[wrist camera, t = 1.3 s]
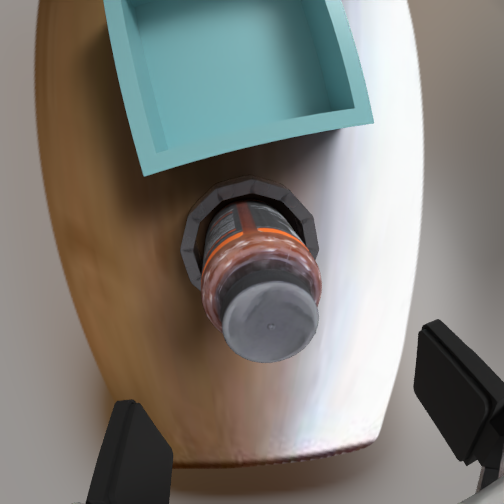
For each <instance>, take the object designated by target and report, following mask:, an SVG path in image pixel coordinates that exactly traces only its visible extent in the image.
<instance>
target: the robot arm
mask: <svg viewBox="0 0 504 504" xmlns="http://www.w3.org/2000/svg"><path fill="white" fill-rule="evenodd" d="M414 392H415V394H416V396H417V397H418V399H419V400H420V402H421V403H422V405H423V406H424V408H425V410H427V412H428V414H429V416H430V417H431V419H432V420H433V421H434V423H435V425H436V426H437V428H438V429H439V431H440V433H441V434H442V436H443V437H444V438H445V440H446V442H447V444H448V445H449V447H450V448H451V450H452V451H453V453H454V455H455V456H456V458H457V459H458V460H459V461H464V463H465V464H466V466H468V465H469V464H471V463H473V462H474V461H476V460H478V461H479V463H480V464H481V466H482V468H481V472H480V477H479V481H478V485H477V489H476V493H475V494H474V495H472V496H471V497H469V498H467V499H466V500H464V501H462V502H461V503H459V504H504V382H503V381H502V380H501V379H500V378H499V377H498V376H497V375H496V374H495V373H494V372H493V371H492V370H491V368H490V367H488V366H487V364H486V363H485V362H484V361H483V360H482V359H481V358H480V357H479V356H478V355H477V354H476V353H475V352H474V351H473V350H472V349H470V348H469V347H468V346H467V345H466V344H465V343H464V342H462V340H461V339H459V337H458V336H456V335H455V334H454V333H453V332H452V331H451V330H450V329H449V328H448V327H447V326H446V325H445V324H444V323H443V322H442V321H441V320H439V319H437V320H434V321H432V322H430V323H427V324H425V325H423V327H422V330H421V331H420V332H419V334H418V347H417V358H416V368H415V378H414ZM172 464H173V452H172V449H171V447H170V446H169V444H168V443H167V442H166V440H165V439H164V438H163V436H162V435H161V433H160V432H159V431H158V429H157V428H156V426H155V425H154V423H153V422H152V420H151V419H150V418H149V416H148V415H147V413H146V412H145V410H144V409H143V407H142V405H141V404H140V403H136V402H135V401H134V400H122V401H117V402H116V403H115V405H114V408H113V412H112V414H111V418H110V421H109V424H108V427H107V430H106V433H105V437H104V440H103V443H102V446H101V449H100V453H99V456H98V459H97V463H96V467H95V470H94V474H93V477H92V481H91V485H90V489H89V492H88V496H87V500H86V504H169V497H170V485H171V473H172ZM72 504H83V503H72Z"/></svg>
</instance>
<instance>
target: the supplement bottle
mask: <svg viewBox="0 0 504 504" xmlns="http://www.w3.org/2000/svg"><path fill="white" fill-rule="evenodd" d="M321 291H322V282H321V275H320V271H319V268H318V266H317V263H316V261H315V259H314V258H313V256H312V255H311V253H310V252H309V250H308V249H307V247H306V246H305V245H304V243H303V242H302V241H301V239H300V238H299V237H298V235H297V234H296V233H295V231H294V230H293V229H292V227H291V226H290V225H289V223H288V222H287V221H286V219H285V218H284V217H283V216H282V214H281V213H280V212H279V211H278V210H276V209H275V208H274V207H272V206H271V205H269V204H267V203H265V202H263V201H259V200H253V199H245V200H239V201H235V202H232V203H230V204H228V205H226V206H225V207H223V208H222V209H221V210H220V211H219V212H218V213H217V214H216V215H215V216H214V218H213V219H212V221H211V222H210V224H209V227H208V230H207V233H206V239H205V249H204V257H203V266H202V273H201V298H202V303H203V307H204V310H205V312H206V314H207V316H208V318H209V319H210V321H211V322H212V324H213V325H214V326H215V327H216V328H217V329H218V330H219V331H220V332H221V333H223V336H224V338H225V341H226V343H227V344H228V346H229V347H230V348H231V349H232V350H233V351H234V352H235V353H236V354H238V355H239V356H241V357H243V358H245V359H247V360H250V361H254V362H260V363H272V362H278V361H282V360H285V359H287V358H290V357H292V356H294V355H296V354H297V353H299V352H300V351H301V350H303V349H304V348H305V347H306V346H307V345H308V344H309V342H310V341H311V339H312V338H313V336H314V335H315V333H316V329H317V326H318V321H319V315H318V309H317V307H318V304H319V301H320V298H321Z"/></svg>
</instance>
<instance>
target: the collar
mask: <svg viewBox="0 0 504 504" xmlns="http://www.w3.org/2000/svg"><path fill="white" fill-rule="evenodd" d="M249 193H255V194H259V195H262V196H266V197H269V198H273V199H276V200H280V201H282V202H283V203H284V204H285V205H286V206H287V207H288V208H289V209H290V210H291V211H292V212H293V213H294V217H295V222H296V227H297V232H298V237H299V238H300V239H301V241H302V242H303V243H304V245H305V246H306V247H307V249H308V250H309V252H310V253H311V255H312V256H313V258H314V259H316V257H317V254H318V251H319V246H318V241H317V235H316V229H315V224H314V218H313V216H312V215H311V213H310V212H309V211H308V210H307V209H306V208H305V207H304V206H303V205H302V203H301V202H300V201H299V200H298V199H297V198H296V197H295V196H294V195H293V194H292V192H291V191H290V190H289V189H287V188H286V187H285V186H284V185H282V184H280V183H277V182H273V181H270V180H266V179H263V178H259V177H256V176H252V175H250V176H249V175H246V176H242V177H238V178H234V179H230V180H227V181H223V182H219V183H216V184H215V185H214V186H213V187H212V188H211V189H210V190H209V191H208V192H207V193H206V194H205V195H204V196H203V197H202V198H201V199H200V200H199V201H198V202H197V203H196V204H195V205H194V206H193V207H192V208H191V211H190V213H189V215H188V219H187V223H186V227H185V231H184V236H183V240H182V244H181V249H180V252H181V255H182V258H183V261H184V264H185V267H186V270H187V273H188V275H189V278H190V281H191V283H192V284H193V285H194V286H195V287H197V288H198V289H199V290H200V291H201V273H202V266H203V260H202V257H201V254H200V250H199V247H198V244H197V241H196V236H197V232H198V228H199V224H200V222H201V221H202V220H203V219H204V218H205V217H206V216H207V215H208V214H209V213H210V212H211V211H212V210H213V209H214V208H215V207H216V206H217V205H218V204H219V203H220V202H221V201H222V200H226V199H230V198H234V197H238V196H242V195H246V194H249Z"/></svg>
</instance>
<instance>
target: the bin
mask: <svg viewBox="0 0 504 504" xmlns="http://www.w3.org/2000/svg"><path fill="white" fill-rule="evenodd" d="M103 1H104V7H105V13H106V19H107V25H108V30H109V36H110V41H111V46H112V51H113V56H114V61H115V66H116V70H117V75H118V79H119V84H120V88H121V92H122V97H123V101H124V105H125V109H126V113H127V117H128V121H129V125H130V129H131V132H132V136H133V140H134V143H135V147H136V151H137V154H138V158H139V161H140V165H141V168H142V172H143V175H144V177H145V176H148V175H151V174H154V173H157V172H160V171H164V170H167V169H170V168H173V167H177V166H180V165H184V164H187V163H190V162H194V161H197V160H201V159H205V158H208V157H212V156H216V155H219V154H223V153H227V152H231V151H235V150H239V149H243V148H247V147H251V146H255V145H260V144H264V143H269V142H273V141H278V140H282V139H287V138H292V137H297V136H302V135H307V134H312V133H317V132H323V131H328V130H334V129H340V128H346V127H352V126H359V125H366V124H373V123H374V120H373V115H372V110H371V106H370V101H369V97H368V92H367V88H366V84H365V80H364V76H363V72H362V68H361V64H360V60H359V56H358V53H357V49H356V46H355V42H354V39H353V36H352V32H351V29H350V26H349V23H348V20H347V17H346V14H345V11H344V8H343V5H342V2H341V0H103Z"/></svg>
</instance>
